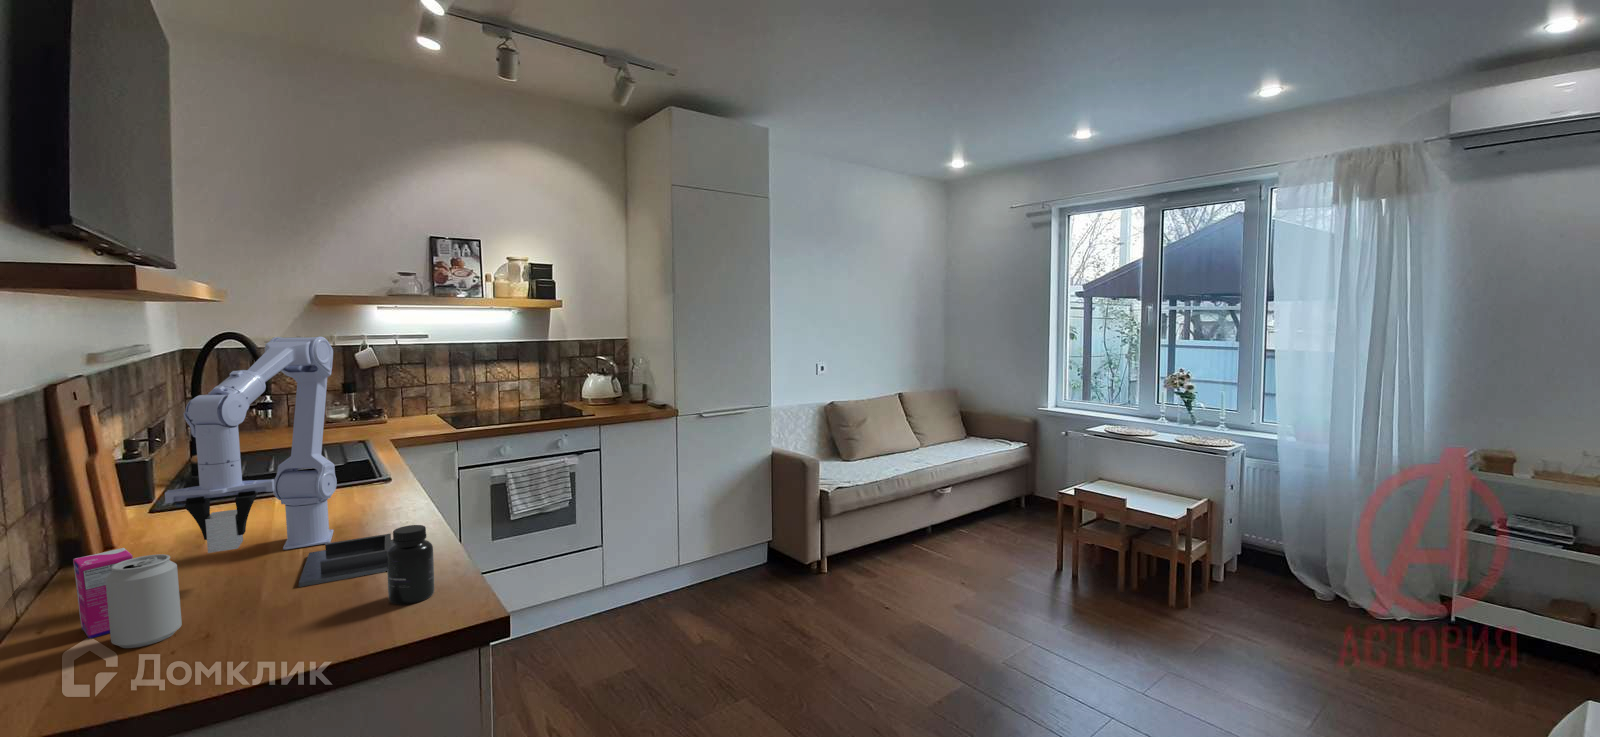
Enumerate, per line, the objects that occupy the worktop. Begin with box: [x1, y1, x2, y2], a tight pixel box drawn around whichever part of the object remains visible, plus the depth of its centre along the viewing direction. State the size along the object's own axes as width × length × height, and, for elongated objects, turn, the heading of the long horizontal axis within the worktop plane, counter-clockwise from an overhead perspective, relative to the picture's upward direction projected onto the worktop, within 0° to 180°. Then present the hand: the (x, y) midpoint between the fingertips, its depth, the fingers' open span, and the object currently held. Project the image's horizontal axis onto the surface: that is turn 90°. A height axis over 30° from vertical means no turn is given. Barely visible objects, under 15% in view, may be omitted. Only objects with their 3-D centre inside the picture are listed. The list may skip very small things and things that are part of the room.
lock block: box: [205, 508, 244, 554], centre depth 116 cm, size 5×4×6 cm
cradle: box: [298, 533, 395, 588], centre depth 127 cm, size 18×16×3 cm
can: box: [105, 553, 183, 649], centre depth 97 cm, size 8×8×12 cm
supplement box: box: [72, 547, 134, 639], centre depth 100 cm, size 6×6×12 cm
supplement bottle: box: [386, 524, 435, 606], centre depth 111 cm, size 7×7×12 cm
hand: (225, 535), depth 117 cm, fingers closed on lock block, 4 cm apart
